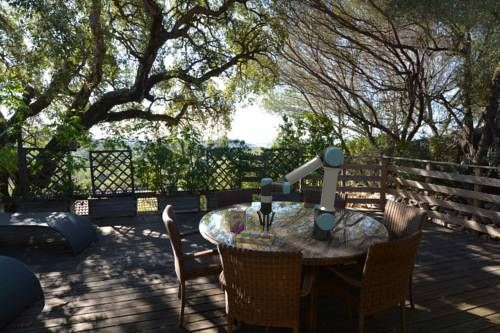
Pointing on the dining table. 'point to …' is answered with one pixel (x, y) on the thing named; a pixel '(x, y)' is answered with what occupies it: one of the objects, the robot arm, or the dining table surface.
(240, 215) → the candy bar box
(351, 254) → the dining table surface
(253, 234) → the key slate
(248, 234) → the key sage
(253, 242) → the keypad
